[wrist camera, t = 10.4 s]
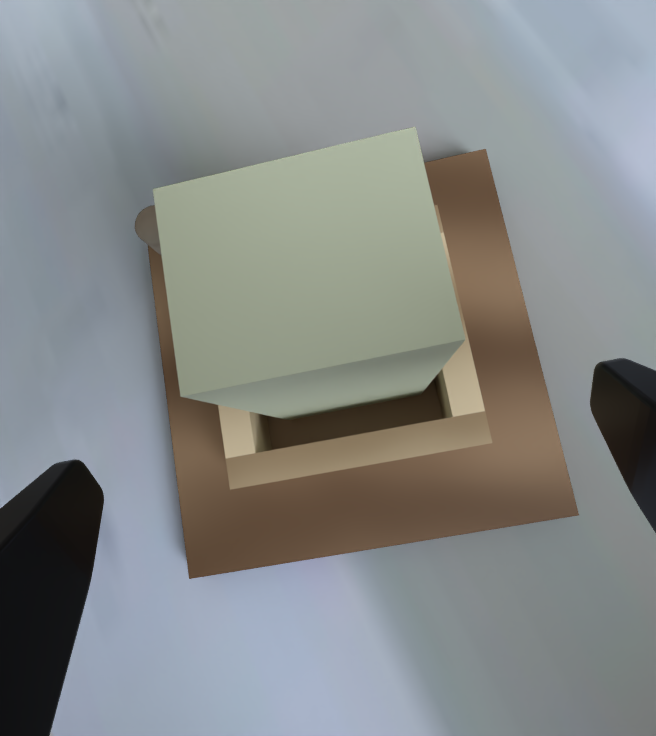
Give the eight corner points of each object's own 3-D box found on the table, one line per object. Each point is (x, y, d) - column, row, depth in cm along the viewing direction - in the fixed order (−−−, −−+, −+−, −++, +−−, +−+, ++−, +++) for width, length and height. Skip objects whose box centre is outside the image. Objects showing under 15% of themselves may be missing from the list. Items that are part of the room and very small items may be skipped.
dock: (568, 511, 18) (612, 528, 14) (199, 571, 19) (158, 600, 16) (480, 163, 20) (500, 105, 17) (156, 236, 21) (112, 196, 18)
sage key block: (420, 394, 18) (465, 339, 8) (288, 419, 18) (180, 397, 9) (398, 291, 19) (415, 126, 9) (271, 318, 19) (152, 189, 9)
